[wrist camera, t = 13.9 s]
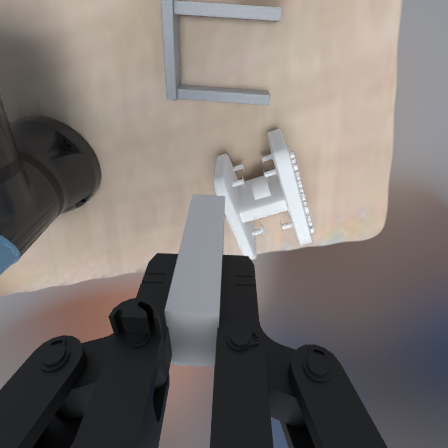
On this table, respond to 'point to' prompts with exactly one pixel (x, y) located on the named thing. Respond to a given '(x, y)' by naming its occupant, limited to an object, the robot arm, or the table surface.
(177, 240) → the table surface
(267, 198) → the cable organizer
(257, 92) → the grey ladder rack
